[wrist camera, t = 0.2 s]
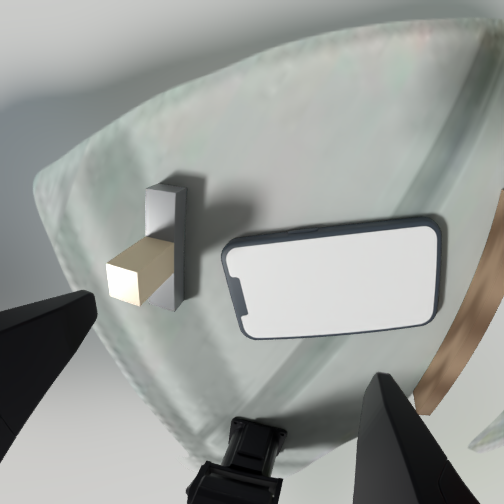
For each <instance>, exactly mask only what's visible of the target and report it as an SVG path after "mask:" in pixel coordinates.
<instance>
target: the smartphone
mask: <svg viewBox="0 0 504 504" xmlns="http://www.w3.org/2000/svg"><path fill="white" fill-rule="evenodd" d="M441 249H442V234H441V230H440V228H439V226H438V225H437V224H436V223H435V222H434V221H433V220H432V219H430V218H428V217H415V218H405V219H395V220H385V221H376V222H366V223H357V224H348V225H339V226H330V227H321V228H307V229H299V230H291V231H288V232H280V233H272V234H264V235H256V236H248V237H240V238H235V239H233V240H231V241H229V242H228V244H227V245H226V246H225V247H224V248H223V250H222V253H221V261H222V265H223V269H224V272H225V276H226V280H227V284H228V287H229V291H230V295H231V298H232V302H233V306H234V309H235V313H236V317H237V320H238V324H239V327H240V330H241V332H242V333H243V334H244V335H245V336H246V337H248V338H250V339H253V340H273V339H295V338H312V337H326V336H339V335H350V334H361V333H370V332H379V331H388V330H396V329H404V328H411V327H418V326H424V325H426V324H428V323H430V322H431V321H432V320H433V319H434V317H435V316H436V313H437V308H438V299H439V287H440V273H441Z"/></svg>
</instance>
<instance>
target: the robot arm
mask: <svg viewBox="0 0 504 504" xmlns="http://www.w3.org/2000/svg"><path fill="white" fill-rule="evenodd" d="M97 314H98V313H97V307H96V301H95V296H94V294H93V293H91V292H89V291H86V290H80V291H76V292H72V293H69V294H65V295H61V296H57V297H53V298H50V299H46V300H42V301H39V302H34V303H31V304H27V305H23V306H20V307H16V308H12V309H8V310H4V311H1V312H0V463H1V461H2V460H3V458H4V456H5V454H6V453H7V451H8V450H9V448H10V446H11V445H12V443H13V442H14V440H15V439H16V436H17V435H18V434H19V432H20V430H21V429H22V427H23V426H24V424H25V423H26V421H27V420H28V418H29V417H30V415H31V414H32V412H33V411H34V409H35V408H36V407H37V405H38V404H39V402H40V401H41V399H42V398H43V396H44V395H45V394H46V392H47V391H48V389H49V388H50V387H51V385H52V384H53V382H54V381H55V380H56V378H57V377H58V376H59V374H60V373H61V371H62V370H63V369H64V367H65V366H66V365H67V363H68V362H69V361H70V359H71V358H72V357H73V355H74V354H75V353H76V351H77V349H78V348H79V346H80V345H81V343H82V341H83V340H84V338H85V336H86V335H87V333H88V332H89V330H90V329H91V327H92V325H93V324H94V322H95V321H96V319H97ZM286 435H287V431H285V430H282V429H277V428H273V427H268V426H264V425H260V424H256V423H252V422H248V421H244V420H241V419H237V418H233V419H232V421H231V428H230V435H229V446H228V448H227V451H226V453H225V456H224V458H223V461H222V464H221V465H218V464H215V463H211V462H210V461H206V462H205V464H204V465H202V466H201V468H200V470H199V472H198V474H197V476H196V478H195V479H194V480H193V481H192V483H191V484H190V485H189V486H188V487H187V489H186V494H187V495H188V500H187V504H278V501H279V496H280V491H281V487H282V482H283V479H282V478H273V477H271V473H272V469H273V466H274V462H275V458H276V456H278V454H279V452H280V449H281V447H282V445H283V443H284V440H285V438H286ZM353 504H480V503H479V502H478V500H477V499H476V498H475V496H474V495H473V494H472V493H471V491H470V490H469V489H468V487H467V486H466V485H465V483H464V482H463V481H462V479H461V478H460V476H459V475H458V473H457V472H456V470H455V469H454V467H453V466H452V464H451V463H450V461H449V460H447V457H446V455H445V454H444V452H443V451H442V449H441V447H440V446H439V445H438V443H437V441H436V440H435V438H434V437H433V435H432V434H431V433H430V431H429V429H428V428H427V426H426V425H425V424H424V422H423V421H422V419H421V418H420V416H419V415H418V413H417V412H416V410H415V409H414V407H413V406H412V404H411V403H410V402H409V400H408V399H407V397H406V396H405V394H404V393H403V392H402V390H401V389H400V387H399V386H398V384H397V383H396V382H395V380H394V379H393V377H392V376H391V375H390V374H388V373H382V372H377V373H376V374H375V375H374V376H373V378H372V380H371V382H370V384H369V386H368V387H367V389H366V391H365V394H364V398H363V406H362V413H361V420H360V427H359V433H358V440H357V454H356V471H355V485H354V495H353Z"/></svg>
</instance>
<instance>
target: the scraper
mask: <svg viewBox="0 0 504 504" xmlns="http://www.w3.org/2000/svg"><path fill="white" fill-rule="evenodd" d="M186 197H187V188H186V187H179V186H172V185H165V184H156V185H153V186H151V187H148V188H146V200H145V222H146V237H144V238H143V239H141V240H140V241H138V242H137V243H135V244H134V245H132V246H131V247H129V248H128V249H126V250H125V251H123V252H122V253H120V254H119V255H117V256H116V257H114V258H113V259H112V260H110V261H109V262H107V263H106V268H107V277H108V284H109V292H110V296H111V297H114V298H117V299H120V300H123V301H126V302H129V303H131V304H134V305H137V306H141V305H142V304H143V303H144V302H145V301H146V300H147V299H148V298H149V304H151V305H154V306H157V307H161V308H164V309H167V310H170V311H174V312H175V311H176V309H177V308H178V307H179V306H180V305H181V303H182V302H183V301H184V246H185V218H186Z"/></svg>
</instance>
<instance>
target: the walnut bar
mask: <svg viewBox="0 0 504 504" xmlns="http://www.w3.org/2000/svg"><path fill="white" fill-rule="evenodd" d="M503 296H504V190H502V191H501V195H500V199H499V202H498V206H497V210H496V213H495V217H494V220H493V223H492V227H491V230H490V233H489V236H488V239H487V242H486V245H485V248H484V251H483V254H482V256H481V259H480V262H479V264H478V267H477V269H476V272H475V275H474V277H473V279H472V282H471V284H470V287H469V289H468V291H467V294H466V296H465V298H464V300H463V302H462V305H461V307H460V309H459V311H458V313H457V315H456V317H455V319H454V321H453V323H452V325H451V327H450V329H449V331H448V333H447V335H446V337H445V339H444V341H443V342H442V344H441V346H440V348H439V350H438V351H437V353H436V355H435V357H434V358H433V360H432V362H431V364H430V365H429V367H428V369H427V370H426V372H425V374H424V375H423V377H422V378H421V380H420V382H419V383H418V385H417V386H416V388H415V389H414V391H413V395H414V400H415V407H416V412H417V413H418V415H431V413H432V412H433V411H434V409H435V408H436V407H437V406H438V404H439V403H440V402H441V400H442V399H443V397H444V396H445V395H446V393H447V392H448V391H449V389H450V388H451V386H452V385H453V384H454V382H455V381H456V379H457V378H458V376H459V375H460V373H461V372H462V370H463V369H464V367H465V366H466V364H467V362H468V361H469V359H470V357H471V356H472V354H473V353H474V351H475V349H476V348H477V346H478V344H479V342H480V341H481V339H482V337H483V335H484V333H485V332H486V330H487V328H488V326H489V324H490V322H491V321H492V319H493V317H494V315H495V313H496V311H497V309H498V307H499V305H500V302H501V300H502V298H503Z"/></svg>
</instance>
